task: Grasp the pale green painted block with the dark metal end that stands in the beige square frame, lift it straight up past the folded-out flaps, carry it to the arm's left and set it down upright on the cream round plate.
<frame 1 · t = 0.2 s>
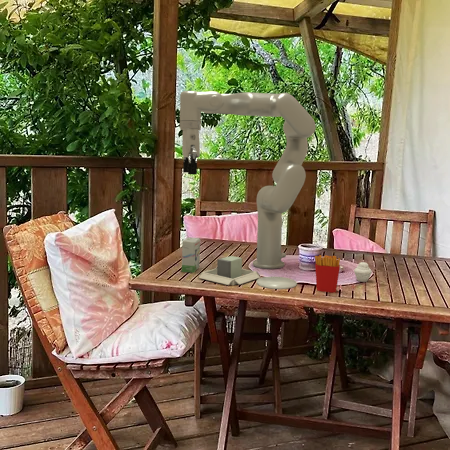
hand: (189, 173, 196), 37 cm above the table, tool pointing down, fingers open, 9 cm apart
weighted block: (229, 268, 192), in the beige square frame
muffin: (362, 281, 191), on the table
french fries: (325, 291, 178), on the table
ink box: (190, 270, 203), on the table
beige square frame: (229, 277, 192), on the table
cream round plate: (276, 283, 186), on the table
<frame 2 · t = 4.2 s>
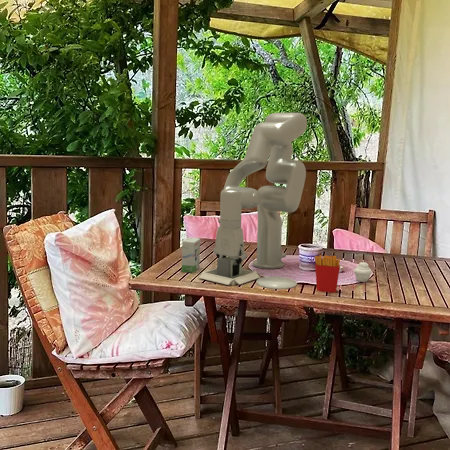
hand: (229, 273, 192), 2 cm above the table, tool pointing down, fingers closed on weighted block, 5 cm apart
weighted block: (229, 268, 192), in the beige square frame, touching gripper
everything else where it was.
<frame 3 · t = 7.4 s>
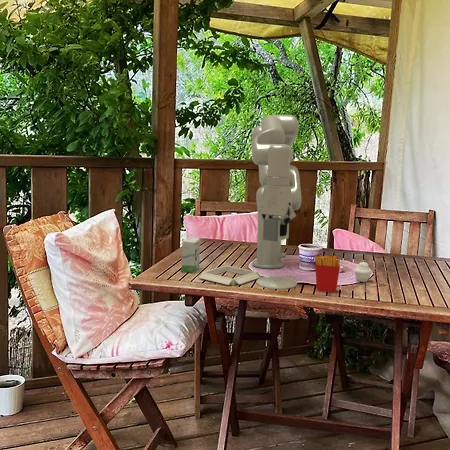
hand: (276, 234, 183), 17 cm above the table, tool pointing down, fingers closed on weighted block, 5 cm apart
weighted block: (276, 228, 183), point 19 cm above the table, touching gripper
everything else where it was.
when the fingers open (3 cm above the table, at t = 11.0 s): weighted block stays where it is, resting on cream round plate.
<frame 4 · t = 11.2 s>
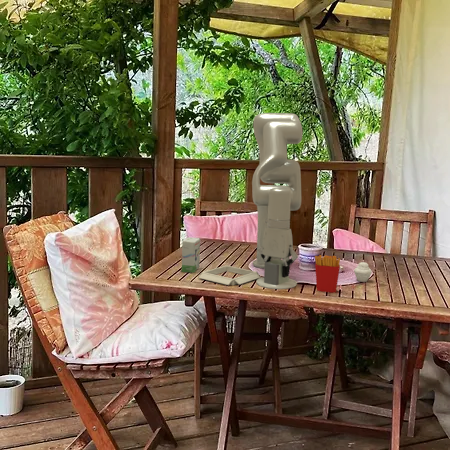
hand: (276, 274, 185), 3 cm above the table, tool pointing down, fingers open, 6 cm apart
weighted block: (276, 271, 185), on the cream round plate, point 4 cm above the table
everything else where it was.
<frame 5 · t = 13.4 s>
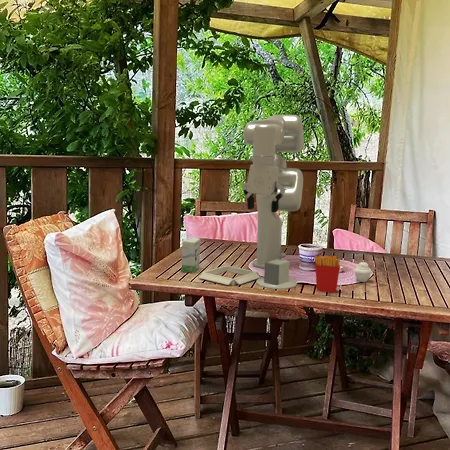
hand: (262, 210, 186), 25 cm above the table, tool pointing down, fingers open, 9 cm apart
nothing on the table moved.
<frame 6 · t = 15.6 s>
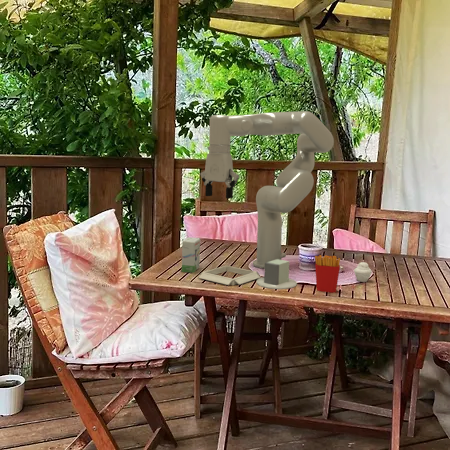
hand: (218, 197, 195), 28 cm above the table, tool pointing down, fingers open, 9 cm apart
nothing on the table moved.
at the end: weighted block inside the target area on the cream round plate (0.1 cm from its centre), point 4.1 cm above the cream round plate's base; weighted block tilted 0°; the gripper is holding nothing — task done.
